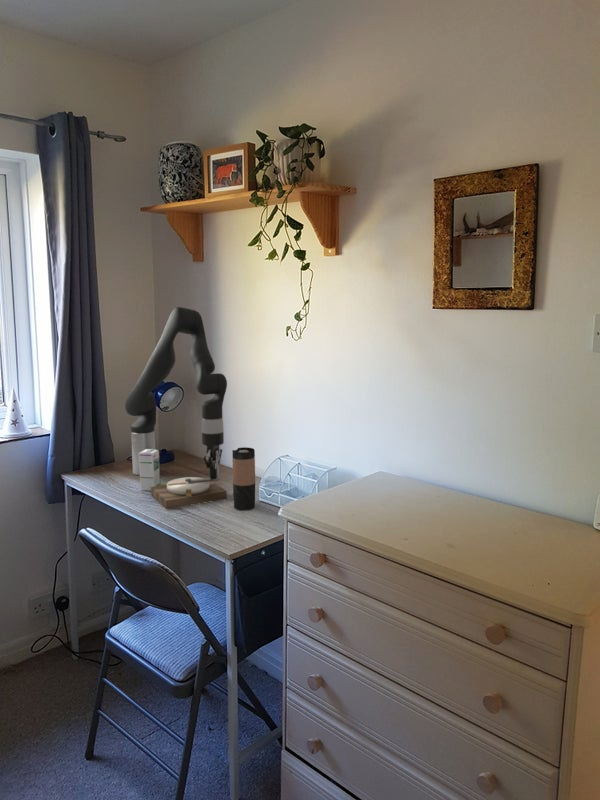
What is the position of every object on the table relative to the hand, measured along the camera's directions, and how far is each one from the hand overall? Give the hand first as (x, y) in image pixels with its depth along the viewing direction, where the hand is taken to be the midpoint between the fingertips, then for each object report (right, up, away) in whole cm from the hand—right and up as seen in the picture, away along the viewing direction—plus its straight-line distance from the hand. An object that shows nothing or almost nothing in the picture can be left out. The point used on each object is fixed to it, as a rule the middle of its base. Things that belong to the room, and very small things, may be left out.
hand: (213, 478), depth 226 cm
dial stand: (-9, -7, +3) cm, 12 cm away
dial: (-8, -4, +3) cm, 9 cm away
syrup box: (-26, -6, +14) cm, 29 cm away
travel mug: (+12, -9, -8) cm, 17 cm away
